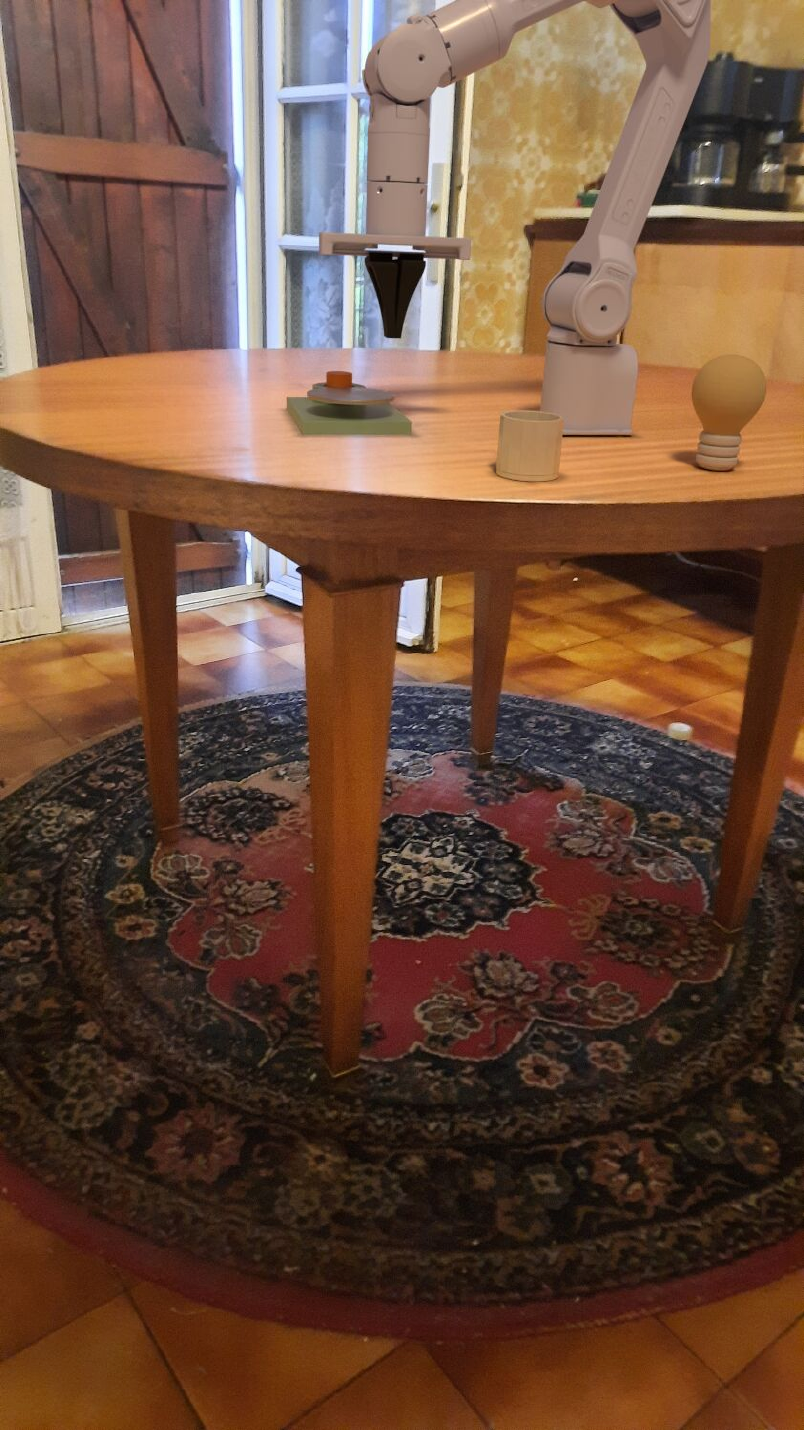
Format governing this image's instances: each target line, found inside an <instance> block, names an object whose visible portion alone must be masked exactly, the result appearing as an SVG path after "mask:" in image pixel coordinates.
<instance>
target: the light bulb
mask: <svg viewBox="0 0 804 1430" xmlns="http://www.w3.org/2000/svg"><path fill="white" fill-rule="evenodd" d="M766 395H767V380H766V376H765V373H764V371H763V369H762V368H761V366H760V365H759V364H758V363H757V362H755V360H753V359H751V358H749V357H747V356H744V355H740V354H723V355H719V356H717V357H715V358H712V359H710V360H708V361H707V362H706V363H705V364H703V366H702V367H701V368H700V369H699V371H698V372H697V374H696V376H695V377H694V380H693V381H692V387H691V402H692V406H693V409H694V411H695V414H696V416H697V417H698V419H699V421H700V423H701V425H702V429H703V430H702V431H700V433H699V436H698V439H699V442H698V444H697V453H696V454H695V462H696V463H697V464H698V466H699V467H701V468H703V469H706V470H710V471H723V472H724V471H730V470H732V469H733V468H735V467H736V466H737V465H738V461H739V457H738V455H739V454H740V451H741V447H740V445H741V443H742V441H743V439H742V438H743V436H742V435H741V434H740V433H741V431H742V430H743V428H745V427H746V426H747V424H748V423H750V422H751V420H752V419H753V418H754V417H755V416H756V415H757V414H758V412H759V411H760V409H761V407H762V406H763V404H764V401H765V398H766Z"/></svg>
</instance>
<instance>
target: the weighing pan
mask: <svg viewBox="0 0 804 1430" xmlns="http://www.w3.org/2000/svg"><path fill="white" fill-rule="evenodd" d="M306 397H308V398H310V399H312V400H315V401H320V402H326V403H334V404H348V405H371V404H383V403H388V402H389V403H392V402H394V401H395V399H396V395H395V394H394V393H393V392H391V391H387V390H383V389H376V388H371V387H366V388H358V387H326V388H317V389H309V390H308V391H306Z"/></svg>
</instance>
